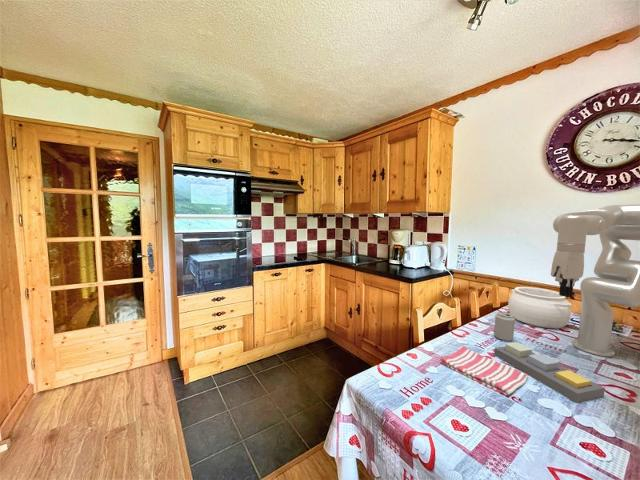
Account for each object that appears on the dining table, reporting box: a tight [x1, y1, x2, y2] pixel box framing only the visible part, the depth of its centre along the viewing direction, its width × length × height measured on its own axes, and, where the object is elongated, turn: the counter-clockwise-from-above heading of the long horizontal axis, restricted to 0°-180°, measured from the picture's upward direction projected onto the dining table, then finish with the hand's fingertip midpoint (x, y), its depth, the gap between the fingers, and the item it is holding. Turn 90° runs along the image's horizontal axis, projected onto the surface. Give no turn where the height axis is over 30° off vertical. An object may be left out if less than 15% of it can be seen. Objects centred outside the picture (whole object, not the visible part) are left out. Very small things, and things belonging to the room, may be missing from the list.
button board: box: [493, 346, 606, 403], centre depth 93 cm, size 12×28×3 cm, turn 14°
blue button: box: [528, 353, 560, 372], centre depth 93 cm, size 6×6×3 cm
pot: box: [507, 286, 572, 329], centre depth 141 cm, size 29×26×16 cm
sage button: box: [504, 341, 533, 358], centre depth 101 cm, size 6×6×3 cm
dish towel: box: [440, 345, 529, 396], centre depth 94 cm, size 17×23×4 cm
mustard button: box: [555, 369, 592, 389], centre depth 84 cm, size 6×6×3 cm
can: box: [493, 311, 516, 342], centre depth 120 cm, size 8×8×12 cm
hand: (565, 296), depth 97 cm, fingers closed
